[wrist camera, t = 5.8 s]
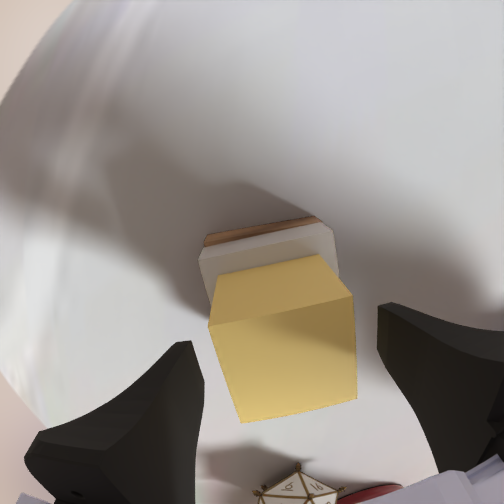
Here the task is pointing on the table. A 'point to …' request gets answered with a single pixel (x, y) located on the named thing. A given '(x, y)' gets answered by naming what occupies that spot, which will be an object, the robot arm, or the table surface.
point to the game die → (298, 491)
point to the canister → (368, 494)
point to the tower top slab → (267, 252)
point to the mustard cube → (285, 338)
